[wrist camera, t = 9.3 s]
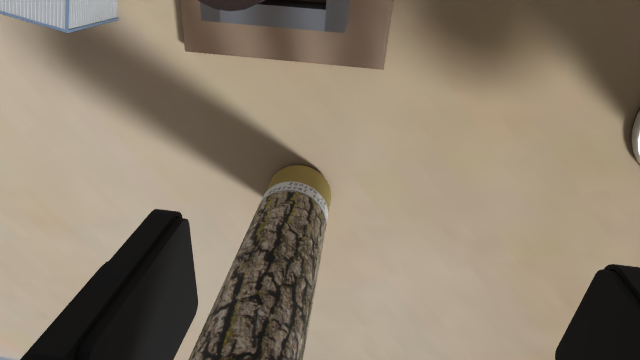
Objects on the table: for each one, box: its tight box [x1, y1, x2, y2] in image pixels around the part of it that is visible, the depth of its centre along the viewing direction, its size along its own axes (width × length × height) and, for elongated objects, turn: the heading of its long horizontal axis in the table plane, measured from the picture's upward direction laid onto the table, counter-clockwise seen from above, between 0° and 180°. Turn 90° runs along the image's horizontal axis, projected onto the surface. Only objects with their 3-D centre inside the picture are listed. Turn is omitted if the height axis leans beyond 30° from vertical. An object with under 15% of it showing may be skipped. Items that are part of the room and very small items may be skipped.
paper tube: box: [189, 165, 331, 360], centre depth 33 cm, size 7×7×25 cm
